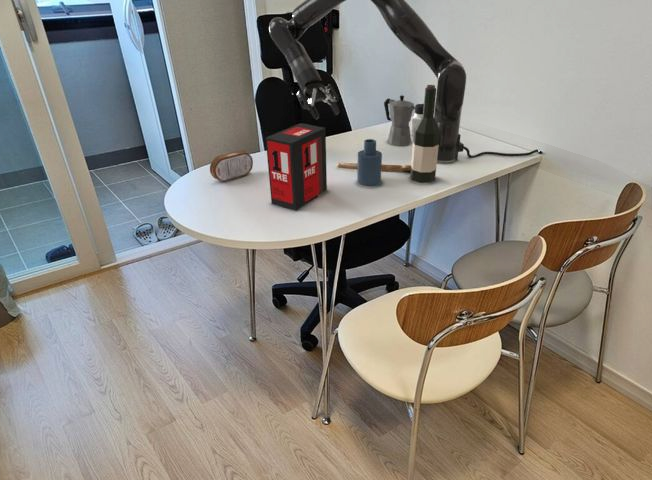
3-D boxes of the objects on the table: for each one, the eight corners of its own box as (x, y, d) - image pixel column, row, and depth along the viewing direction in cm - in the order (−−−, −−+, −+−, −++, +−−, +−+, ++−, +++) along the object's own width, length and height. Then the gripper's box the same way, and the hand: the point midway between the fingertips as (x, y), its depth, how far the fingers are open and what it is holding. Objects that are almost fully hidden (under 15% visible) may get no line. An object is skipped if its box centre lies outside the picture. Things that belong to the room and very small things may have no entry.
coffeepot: (419, 143, 195) (423, 96, 185) (403, 149, 190) (407, 100, 180) (391, 134, 204) (393, 89, 194) (375, 139, 199) (376, 93, 189)
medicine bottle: (428, 137, 203) (431, 107, 196) (410, 135, 204) (413, 106, 197) (429, 132, 208) (432, 102, 202) (412, 130, 209) (414, 101, 203)
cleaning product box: (295, 210, 144) (291, 143, 133) (271, 203, 148) (265, 137, 137) (326, 191, 156) (325, 127, 145) (303, 185, 160) (300, 123, 148)
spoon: (336, 160, 170) (416, 163, 165) (339, 165, 175) (417, 168, 170) (335, 165, 169) (416, 169, 165) (338, 170, 175) (416, 174, 170)
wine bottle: (418, 186, 160) (427, 89, 143) (405, 177, 166) (411, 83, 149) (439, 182, 163) (450, 87, 147) (425, 173, 169) (434, 81, 153)
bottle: (376, 177, 166) (377, 136, 158) (383, 186, 160) (385, 143, 152) (354, 180, 164) (355, 138, 156) (361, 188, 158) (362, 145, 150)
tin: (250, 171, 169) (247, 146, 164) (255, 173, 167) (253, 149, 163) (211, 182, 160) (207, 157, 156) (216, 185, 158) (212, 160, 154)
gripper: (292, 69, 159) (315, 113, 158) (327, 64, 167) (349, 106, 166) (284, 83, 165) (306, 126, 164) (317, 77, 173) (338, 118, 172)
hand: (327, 115), depth 165 cm, fingers open, 8 cm apart
